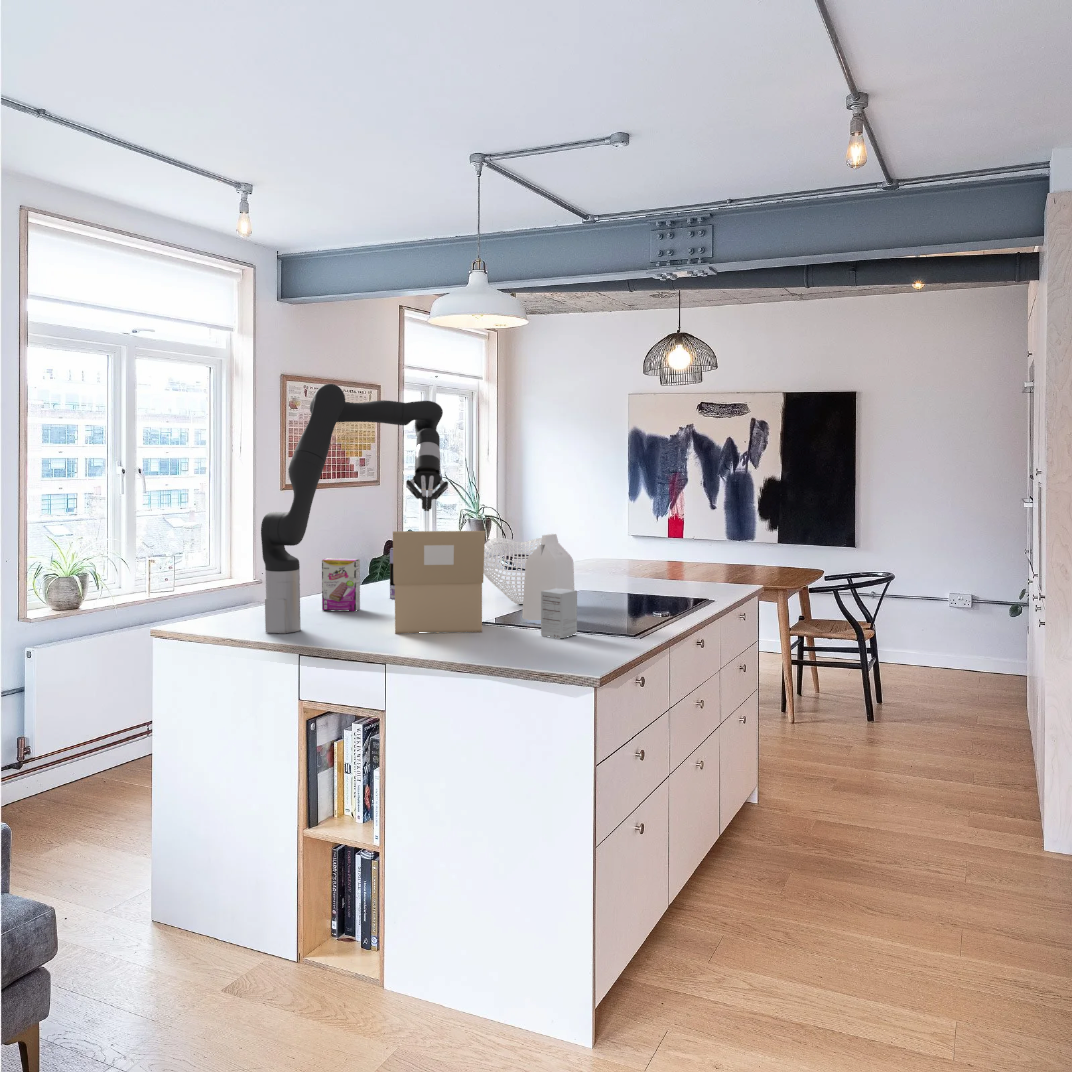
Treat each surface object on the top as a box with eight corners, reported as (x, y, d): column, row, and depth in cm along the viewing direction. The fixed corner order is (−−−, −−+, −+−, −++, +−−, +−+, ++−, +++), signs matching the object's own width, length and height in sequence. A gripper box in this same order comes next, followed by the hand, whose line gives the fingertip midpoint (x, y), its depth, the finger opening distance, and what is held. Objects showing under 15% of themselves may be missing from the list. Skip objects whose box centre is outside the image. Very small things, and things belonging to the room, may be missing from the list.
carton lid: (483, 581, 264) (483, 583, 264) (393, 583, 261) (393, 584, 261) (484, 530, 257) (484, 532, 256) (392, 531, 254) (392, 532, 253)
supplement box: (556, 632, 266) (556, 587, 265) (577, 635, 262) (578, 590, 260) (540, 636, 261) (540, 590, 259) (561, 639, 256) (561, 593, 255)
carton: (482, 632, 266) (482, 582, 264) (395, 633, 263) (394, 583, 261) (478, 622, 281) (478, 575, 280) (396, 623, 278) (395, 576, 277)
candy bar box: (321, 611, 299) (320, 559, 298) (326, 608, 304) (325, 557, 303) (356, 612, 298) (355, 560, 297) (360, 609, 303) (360, 558, 302)
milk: (542, 616, 291) (542, 532, 289) (575, 620, 286) (576, 534, 283) (521, 622, 281) (522, 535, 279) (555, 626, 275) (556, 537, 273)
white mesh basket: (477, 608, 306) (477, 539, 304) (480, 601, 321) (480, 535, 319) (564, 609, 306) (565, 540, 304) (563, 601, 321) (563, 536, 319)
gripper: (449, 468, 291) (448, 517, 282) (405, 467, 289) (403, 515, 281) (450, 454, 284) (449, 503, 276) (405, 452, 283) (403, 502, 274)
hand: (426, 509), depth 278 cm, fingers closed
